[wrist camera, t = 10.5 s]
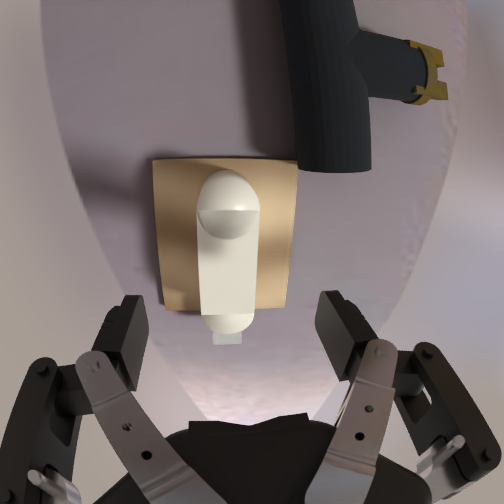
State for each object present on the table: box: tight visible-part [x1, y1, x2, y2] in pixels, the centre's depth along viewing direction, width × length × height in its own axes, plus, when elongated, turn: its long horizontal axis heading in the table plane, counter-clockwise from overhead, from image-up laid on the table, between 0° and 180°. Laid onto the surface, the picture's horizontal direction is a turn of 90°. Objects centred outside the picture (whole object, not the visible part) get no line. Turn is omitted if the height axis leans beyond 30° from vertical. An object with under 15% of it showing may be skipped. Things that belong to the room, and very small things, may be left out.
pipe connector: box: [280, 0, 448, 173], centre depth 14 cm, size 12×5×15 cm
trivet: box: [153, 158, 298, 310], centre depth 21 cm, size 12×10×1 cm
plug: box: [197, 170, 260, 344], centre depth 19 cm, size 13×4×4 cm, turn 178°
